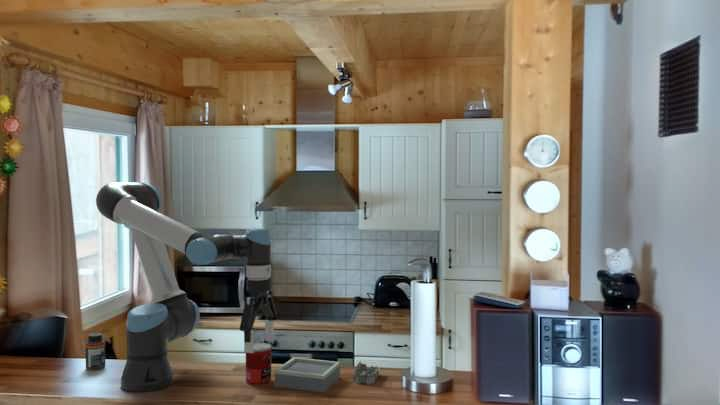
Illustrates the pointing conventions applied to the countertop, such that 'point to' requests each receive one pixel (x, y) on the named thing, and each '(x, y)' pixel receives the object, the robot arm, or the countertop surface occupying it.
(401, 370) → the countertop surface
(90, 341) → the supplement bottle
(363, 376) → the egg carton
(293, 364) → the tray
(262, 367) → the canned food
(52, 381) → the countertop surface
